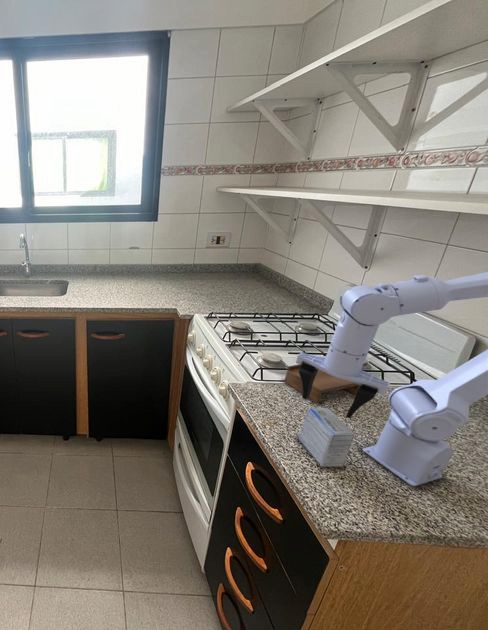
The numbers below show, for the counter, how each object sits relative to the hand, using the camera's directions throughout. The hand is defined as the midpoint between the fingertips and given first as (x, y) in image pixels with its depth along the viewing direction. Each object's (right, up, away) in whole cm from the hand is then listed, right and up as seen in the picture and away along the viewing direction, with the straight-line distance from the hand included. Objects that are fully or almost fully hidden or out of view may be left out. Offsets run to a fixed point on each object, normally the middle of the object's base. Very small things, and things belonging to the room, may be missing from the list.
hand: (326, 405), depth 71 cm
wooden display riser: (+15, -1, +23) cm, 27 cm away
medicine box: (0, -11, +2) cm, 11 cm away
